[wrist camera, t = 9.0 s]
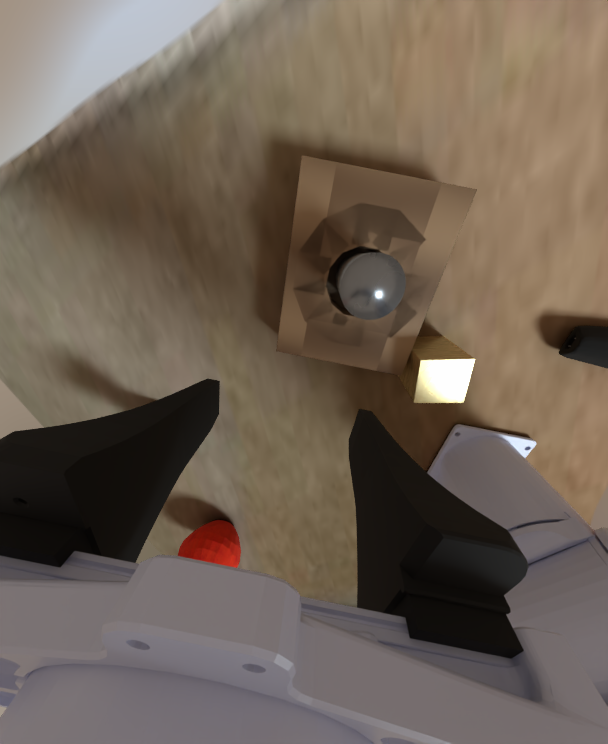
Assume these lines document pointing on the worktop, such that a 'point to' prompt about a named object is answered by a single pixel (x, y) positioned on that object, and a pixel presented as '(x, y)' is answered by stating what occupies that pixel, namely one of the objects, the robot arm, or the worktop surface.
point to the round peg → (370, 284)
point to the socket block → (364, 235)
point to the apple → (213, 544)
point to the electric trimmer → (587, 345)
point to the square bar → (437, 371)
